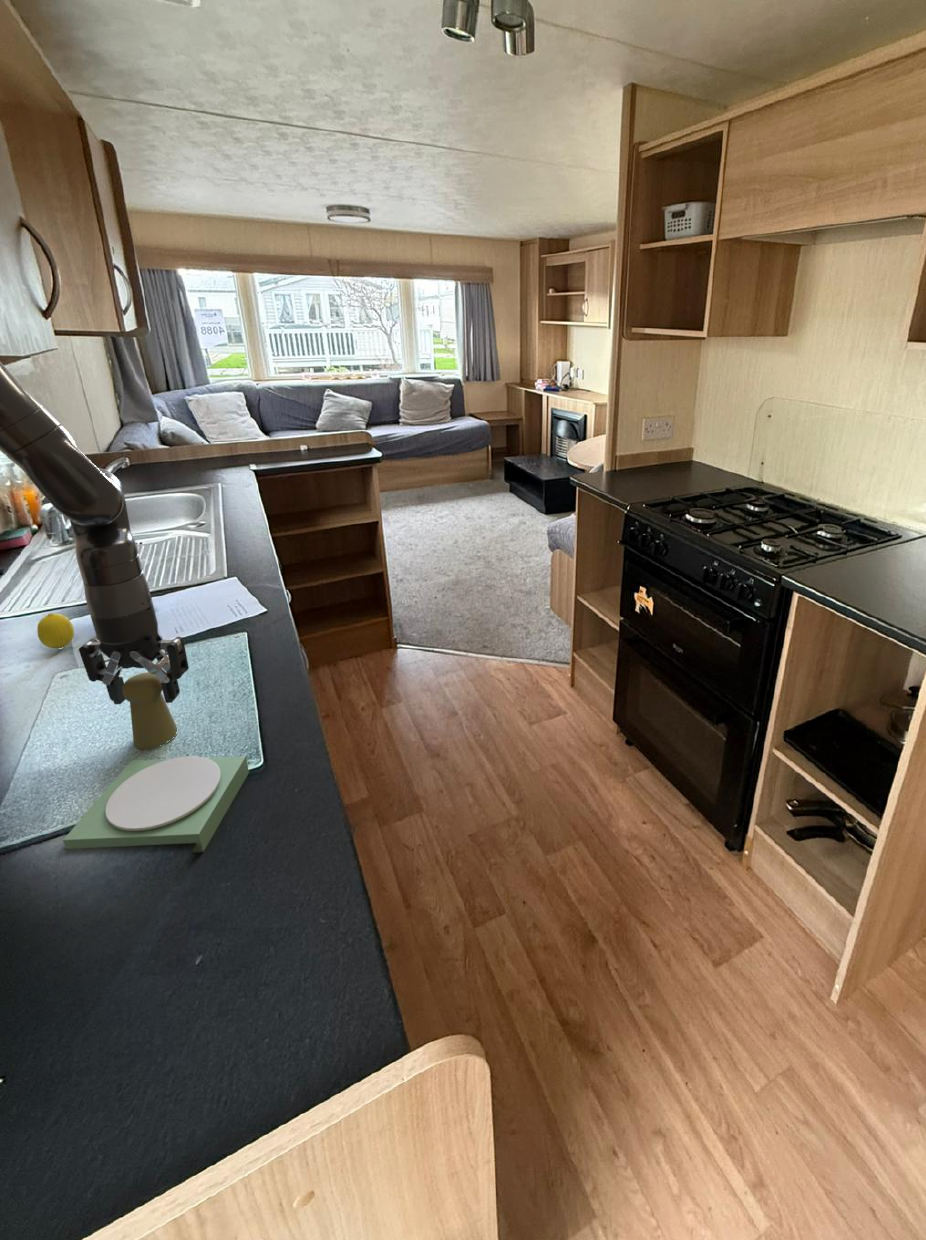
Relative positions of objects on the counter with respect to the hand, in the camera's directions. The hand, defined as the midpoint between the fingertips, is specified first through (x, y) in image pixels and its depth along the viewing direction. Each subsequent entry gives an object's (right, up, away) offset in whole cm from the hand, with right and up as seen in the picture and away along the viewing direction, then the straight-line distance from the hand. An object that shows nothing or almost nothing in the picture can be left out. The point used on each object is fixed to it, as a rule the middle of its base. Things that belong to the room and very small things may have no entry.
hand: (146, 700), depth 92 cm
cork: (0, -7, +2) cm, 7 cm away
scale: (+11, -12, -12) cm, 20 cm away
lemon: (-36, +3, +28) cm, 45 cm away
